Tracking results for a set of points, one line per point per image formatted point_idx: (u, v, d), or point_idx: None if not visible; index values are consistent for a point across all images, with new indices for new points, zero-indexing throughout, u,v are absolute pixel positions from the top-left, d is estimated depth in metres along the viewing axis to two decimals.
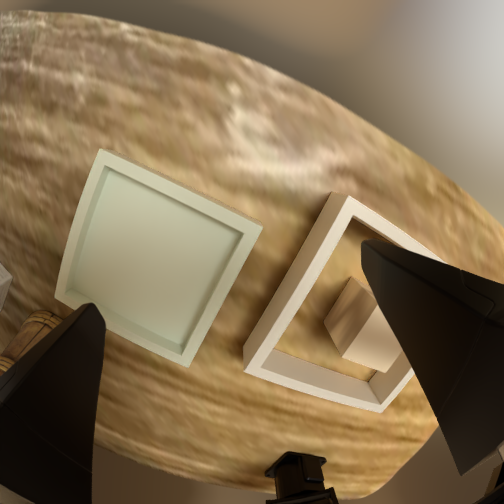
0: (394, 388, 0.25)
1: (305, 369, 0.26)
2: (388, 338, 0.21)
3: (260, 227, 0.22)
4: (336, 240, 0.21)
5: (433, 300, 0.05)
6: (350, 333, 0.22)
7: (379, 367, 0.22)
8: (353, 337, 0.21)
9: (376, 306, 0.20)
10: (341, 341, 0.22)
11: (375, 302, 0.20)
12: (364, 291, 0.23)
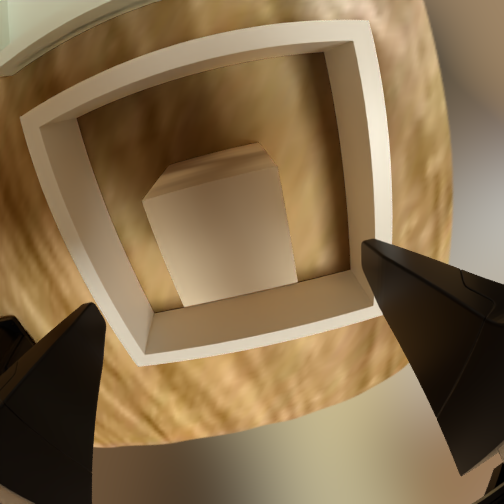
0: (178, 349, 0.17)
1: (91, 205, 0.14)
2: (237, 249, 0.12)
3: None
4: (302, 39, 0.09)
5: (433, 300, 0.05)
6: (189, 181, 0.11)
7: (182, 287, 0.12)
8: (187, 185, 0.10)
9: (268, 168, 0.10)
10: (165, 185, 0.11)
11: (272, 164, 0.10)
12: (264, 153, 0.12)
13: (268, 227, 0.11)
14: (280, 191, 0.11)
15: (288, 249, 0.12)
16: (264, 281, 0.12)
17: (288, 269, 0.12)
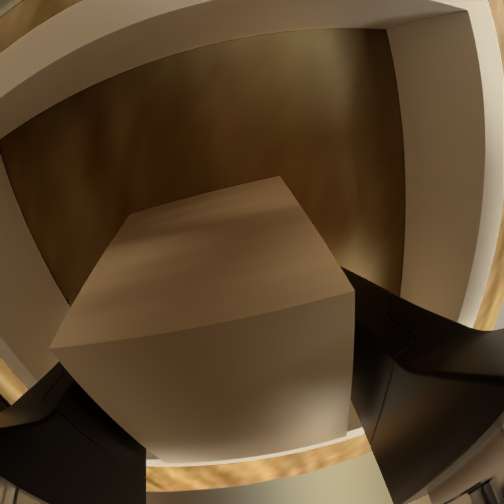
0: None
1: (23, 279, 0.08)
2: (251, 420, 0.05)
3: None
4: None
5: None
6: (141, 302, 0.05)
7: (158, 449, 0.06)
8: (134, 326, 0.04)
9: (332, 295, 0.04)
10: (99, 296, 0.05)
11: (337, 276, 0.04)
12: (301, 217, 0.06)
13: (312, 391, 0.05)
14: (350, 338, 0.04)
15: (342, 410, 0.06)
16: (293, 443, 0.06)
17: (335, 428, 0.06)
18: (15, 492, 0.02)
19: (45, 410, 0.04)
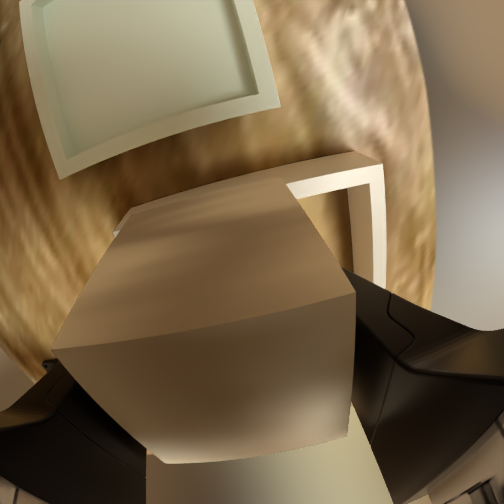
0: None
1: None
2: (252, 421, 0.05)
3: (278, 104, 0.15)
4: (334, 187, 0.16)
5: None
6: (143, 303, 0.05)
7: (158, 450, 0.06)
8: (135, 327, 0.04)
9: (333, 296, 0.04)
10: (100, 297, 0.05)
11: (338, 277, 0.04)
12: (302, 219, 0.06)
13: (313, 392, 0.05)
14: (351, 339, 0.04)
15: (343, 411, 0.06)
16: (294, 443, 0.06)
17: (336, 429, 0.06)
18: (15, 492, 0.02)
19: (45, 410, 0.04)
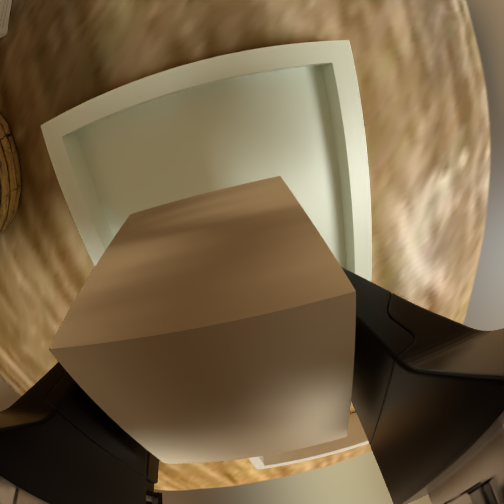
0: (286, 461, 0.25)
1: None
2: (251, 421, 0.05)
3: None
4: None
5: None
6: (142, 303, 0.05)
7: (158, 450, 0.06)
8: (133, 326, 0.04)
9: (334, 296, 0.04)
10: (98, 296, 0.05)
11: (338, 277, 0.04)
12: (302, 218, 0.06)
13: (313, 392, 0.05)
14: (351, 339, 0.04)
15: (343, 411, 0.06)
16: (294, 444, 0.06)
17: (336, 429, 0.06)
18: (15, 492, 0.02)
19: (45, 409, 0.04)
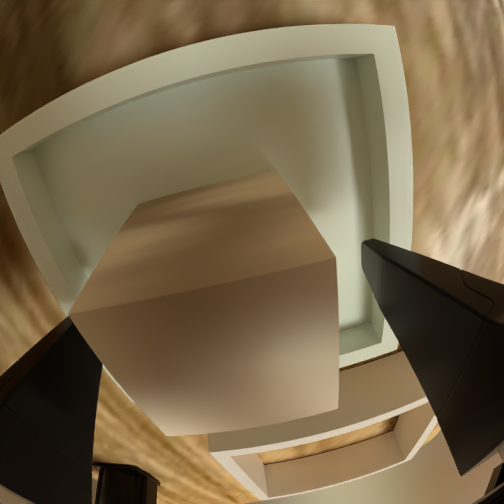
0: (291, 493, 0.21)
1: None
2: (248, 385, 0.06)
3: (395, 347, 0.13)
4: (419, 404, 0.14)
5: (433, 300, 0.05)
6: (153, 272, 0.06)
7: (161, 420, 0.07)
8: (147, 290, 0.05)
9: (316, 260, 0.05)
10: (113, 270, 0.06)
11: (321, 247, 0.05)
12: (293, 203, 0.07)
13: (303, 356, 0.06)
14: (334, 302, 0.05)
15: (332, 378, 0.06)
16: (288, 413, 0.07)
17: (327, 399, 0.07)
18: None
19: None
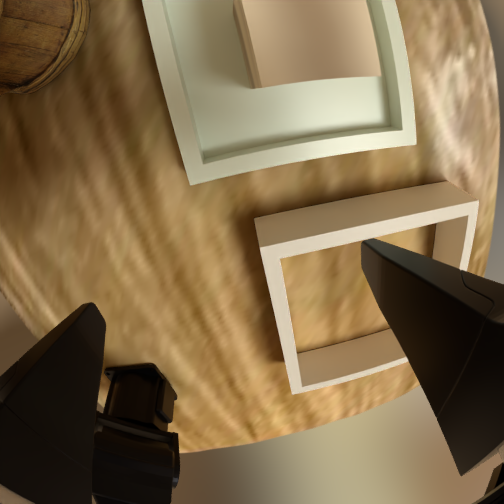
0: (326, 380, 0.25)
1: None
2: (325, 28, 0.09)
3: (414, 142, 0.16)
4: (447, 218, 0.17)
5: (433, 300, 0.05)
6: None
7: (264, 61, 0.09)
8: None
9: None
10: None
11: None
12: None
13: (353, 14, 0.08)
14: None
15: (371, 39, 0.09)
16: (350, 67, 0.10)
17: (372, 60, 0.09)
18: None
19: None
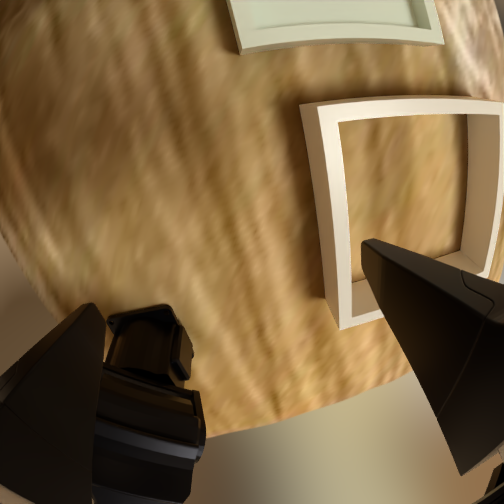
0: (378, 309, 0.21)
1: None
2: None
3: (442, 42, 0.13)
4: (482, 111, 0.14)
5: (433, 300, 0.05)
6: None
7: None
8: None
9: None
10: None
11: None
12: None
13: None
14: None
15: None
16: None
17: None
18: None
19: None
